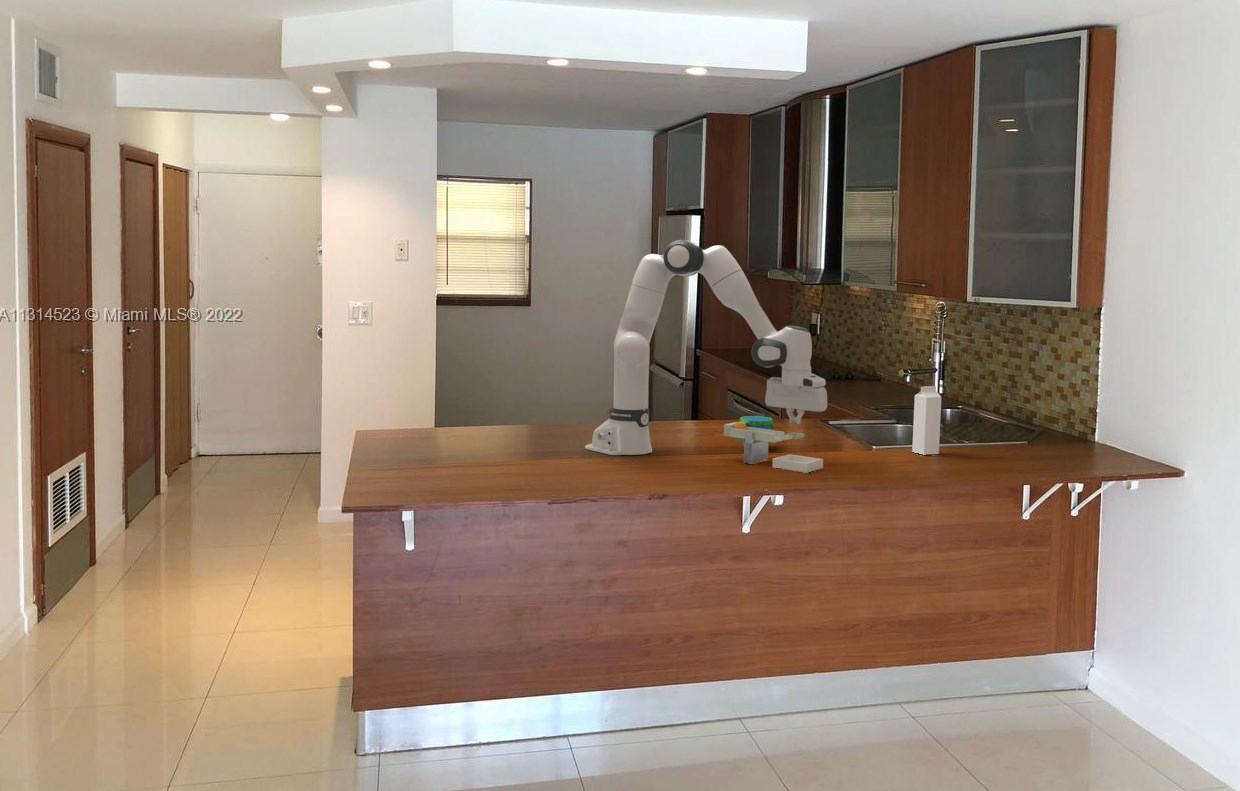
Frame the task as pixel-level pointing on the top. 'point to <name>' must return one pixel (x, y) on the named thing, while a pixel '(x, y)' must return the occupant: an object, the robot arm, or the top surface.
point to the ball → (740, 425)
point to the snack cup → (757, 423)
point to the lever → (760, 433)
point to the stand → (754, 449)
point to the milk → (926, 421)
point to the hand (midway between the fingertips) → (795, 423)
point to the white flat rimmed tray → (798, 463)
